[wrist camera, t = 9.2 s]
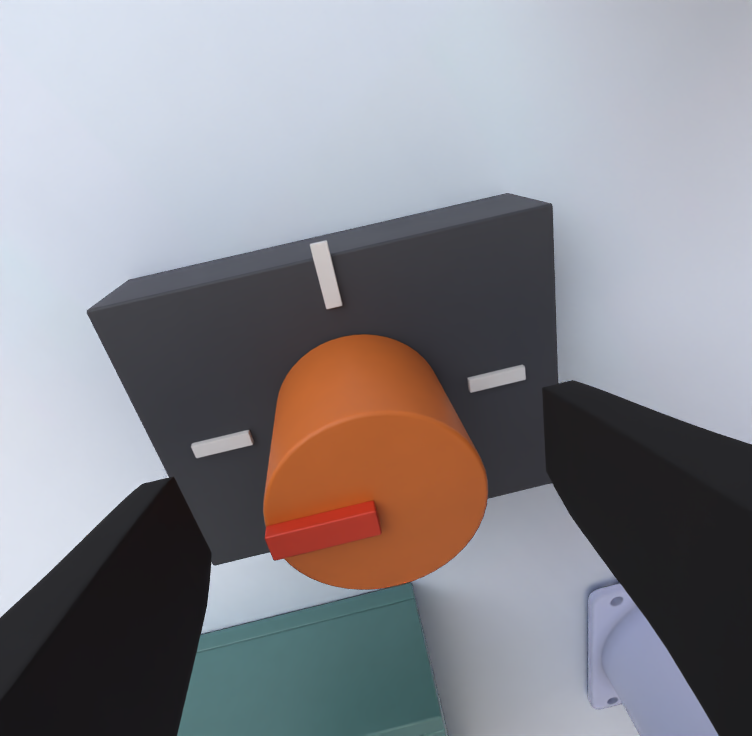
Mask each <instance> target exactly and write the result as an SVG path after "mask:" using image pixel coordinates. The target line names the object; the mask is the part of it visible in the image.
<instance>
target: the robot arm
mask: <svg viewBox="0 0 752 736" xmlns="http://www.w3.org/2000/svg"><path fill="white" fill-rule="evenodd" d="M542 396H543V417H544V438H545V459H546V472H547V474H548V476H549V478H550V479H551V481H552V483H553V485H554V487H555V489H556V491H557V492H558V494H559V496H560V498H561V500H562V501H563V503H564V505H565V507H566V508H567V510H568V512H569V514H570V515H571V517H572V518H573V520H574V521H575V522H576V524H577V525H578V527H579V528H580V529H581V531H582V532H583V534H584V535H585V536H586V538H587V539H588V540H589V542H590V543H591V545H592V546H593V547H594V549H595V550H596V551H597V553H598V554H599V555H600V557H601V558H602V560H603V561H604V562H605V564H606V565H607V566H608V568H609V569H610V570H611V572H612V573H613V574H614V576H615V577H616V579H617V580H618V581H619V584H615V585H611V586H607V587H603V588H599V589H597V590H595V591H593V592H592V593H591V594H590V595H589V599H588V700H589V702H590V704H591V706H592V707H593V708H594V709H604V708H608V707H612V706H615V705H619V704H623V706H624V707H625V709H626V711H627V713H628V715H629V716H630V718H631V720H632V722H633V724H634V725H635V727H636V729H637V731H638V733H639V734H640V736H752V445H751V444H748V443H745V442H742V441H739V440H736V439H733V438H730V437H727V436H724V435H721V434H717V433H715V432H712V431H709V430H706V429H703V428H700V427H697V426H695V425H692V424H689V423H686V422H684V421H681V420H678V419H675V418H673V417H670V416H667V415H665V414H662V413H659V412H657V411H654V410H652V409H649V408H646V407H644V406H641V405H639V404H636V403H634V402H631V401H628V400H626V399H623V398H621V397H618V396H616V395H613V394H610V393H608V392H605V391H602V390H600V389H597V388H594V387H592V386H589V385H586V384H583V383H580V382H577V381H573V380H572V381H568V382H564V383H560V384H555V385H551V386H547V387H543V388H542ZM211 559H212V552H211V550H210V548H209V546H208V544H207V542H206V540H205V538H204V536H203V534H202V532H201V530H200V528H199V526H198V524H197V522H196V520H195V518H194V516H193V514H192V512H191V510H190V508H189V506H188V504H187V502H186V500H185V498H184V496H183V494H182V492H181V490H180V488H179V486H178V484H177V482H176V480H175V478H174V476H173V477H169V478H165V479H161V480H157V481H153V482H149V483H144V484H142V485H140V486H139V487H138V488H137V489H136V490H134V491H133V492H132V493H131V494H130V495H129V496H127V497H126V498H125V499H124V500H123V501H122V502H121V503H120V504H119V505H118V506H117V507H116V508H115V509H114V510H113V511H112V512H110V513H109V514H108V515H107V516H106V517H105V518H104V519H103V520H102V521H101V522H100V523H99V524H98V525H97V526H96V527H95V528H94V529H93V530H92V531H91V532H90V533H89V534H88V535H87V536H86V537H85V538H84V539H83V540H82V541H81V542H80V543H79V544H78V545H77V546H76V547H75V548H74V549H73V550H72V551H71V552H70V553H69V554H68V555H67V556H66V557H64V558H63V559H62V560H61V561H60V562H59V563H58V564H57V565H56V566H55V567H54V568H53V569H52V570H51V571H50V572H49V573H48V574H47V575H46V576H45V577H44V578H43V579H42V580H41V581H40V582H39V583H37V584H36V585H35V586H34V587H33V588H32V589H31V590H30V591H29V592H28V593H27V594H25V595H24V596H23V597H22V598H21V599H20V600H19V601H18V602H17V603H16V604H15V605H14V606H12V607H11V608H10V609H9V610H8V611H7V612H6V613H5V614H4V615H3V616H2V617H1V618H0V736H177V734H178V730H179V725H180V721H181V717H182V712H183V708H184V704H185V700H186V695H187V691H188V687H189V683H190V678H191V674H192V670H193V665H194V661H195V657H196V653H197V648H198V644H199V639H200V635H201V631H202V626H203V622H204V617H205V612H206V608H207V601H208V592H209V583H210V571H211Z"/></svg>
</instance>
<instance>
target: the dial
mask: <svg viewBox="0 0 752 736" xmlns="http://www.w3.org/2000/svg"><path fill="white" fill-rule="evenodd" d="M487 498H488V480H487V475H486V470H485V467H484V465H483V462H482V459H481V457H480V456H479V454H478V452H477V450H476V448H475V446H474V444H473V443H472V441H471V439H470V437H469V435H468V433H467V432H466V430H465V428H464V426H463V424H462V422H461V421H460V419H459V417H458V415H457V413H456V411H455V410H454V408H453V406H452V404H451V402H450V400H449V398H448V397H447V395H446V393H445V391H444V389H443V387H442V386H441V384H440V382H439V380H438V378H437V376H436V375H435V373H434V371H433V369H432V368H431V366H430V365H429V364H428V363H427V361H426V360H425V359H424V358H423V357H422V356H421V355H420V354H419V353H418V352H416V351H415V350H413V349H412V348H410V347H409V346H407V345H405V344H403V343H401V342H399V341H397V340H394V339H391V338H388V337H383V336H378V335H367V334H362V335H350V336H344V337H340V338H337V339H333V340H330V341H328V342H326V343H323V344H321V345H319V346H317V347H316V348H314V349H312V350H311V351H309V352H308V353H307V354H306V355H304V356H303V357H302V358H301V359H300V360H299V361H298V362H297V363H296V364H295V365H294V366H293V367H292V369H291V370H290V371H289V373H288V374H287V376H286V378H285V379H284V381H283V383H282V386H281V388H280V391H279V394H278V399H277V404H276V412H275V419H274V427H273V434H272V441H271V449H270V456H269V464H268V471H267V478H266V486H265V493H264V503H263V514H264V521H265V526H266V531H265V541H266V543H267V545H268V548H269V550H270V553H271V555H272V557H273V560H275V561H276V560H280V559H285V560H286V561H287V562H288V563H289V564H290V565H291V566H292V567H294V568H295V569H296V570H298V571H299V572H301V573H303V574H304V575H306V576H308V577H310V578H312V579H314V580H317V581H319V582H321V583H325V584H328V585H331V586H336V587H341V588H347V589H359V590H362V589H381V588H388V587H393V586H398V585H402V584H405V583H408V582H412V581H414V580H417V579H419V578H422V577H424V576H426V575H428V574H430V573H432V572H434V571H436V570H437V569H439V568H440V567H442V566H443V565H445V564H446V563H448V562H449V561H450V560H451V559H453V558H454V557H455V556H456V555H457V554H458V553H459V552H460V551H461V550H462V549H463V548H464V547H465V546H466V545H467V544H468V542H469V541H470V540H471V539H472V537H473V536H474V534H475V533H476V531H477V529H478V528H479V525H480V523H481V521H482V519H483V516H484V513H485V509H486V506H487Z"/></svg>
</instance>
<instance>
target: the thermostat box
mask: <svg viewBox="0 0 752 736" xmlns="http://www.w3.org/2000/svg"><path fill="white" fill-rule="evenodd" d="M87 314H88V316H89V318H90V320H91V322H92V324H93V326H94V328H95V330H96V332H97V334H98V336H99V338H100V340H101V342H102V344H103V346H104V348H105V350H106V352H107V354H108V356H109V358H110V360H111V362H112V364H113V366H114V368H115V370H116V372H117V374H118V376H119V378H120V380H121V382H122V384H123V386H124V388H125V390H126V392H127V394H128V396H129V398H130V400H131V402H132V404H133V406H134V408H135V410H136V412H137V414H138V416H139V418H140V420H141V422H142V424H143V426H144V428H145V430H146V432H147V434H148V436H149V438H150V440H151V442H152V444H153V446H154V448H155V450H156V452H157V454H158V456H159V458H160V460H161V462H162V464H163V466H164V468H165V470H166V472H167V474H168V476H169V477H173V476H174V478H175V480H176V482H177V484H178V486H179V488H180V490H181V492H182V494H183V496H184V498H185V500H186V502H187V504H188V506H189V508H190V510H191V512H192V514H193V516H194V518H195V520H196V522H197V524H198V526H199V528H200V530H201V532H202V534H203V536H204V538H205V540H206V542H207V544H208V546H209V548H210V550H211V552H212V559H211V562H212V564H213V565H219V564H223V563H227V562H231V561H235V560H239V559H243V558H247V557H252V556H256V555H260V554H264V553H268V552H270V550H269V548H268V545H267V543H266V541H265V531H266V526H265V521H264V514H263V503H264V493H265V486H266V478H267V471H268V464H269V456H270V449H271V441H272V434H273V427H274V419H275V412H276V404H277V399H278V394H279V391H280V388H281V386H282V383H283V381H284V379H285V378H286V376H287V374H288V373H289V371H290V370H291V369H292V367H293V366H294V365H295V364H296V363H297V362H298V361H299V360H300V359H301V358H302V357H303V356H304V355H306V354H307V353H308V352H309V351H311V350H312V349H314V348H316V347H317V346H319V345H321V344H323V343H326V342H328V341H330V340H333V339H337V338H340V337H344V336H350V335H362V334H367V335H378V336H383V337H388V338H391V339H394V340H397V341H399V342H401V343H403V344H405V345H407V346H409V347H410V348H412V349H413V350H415V351H416V352H418V353H419V354H420V355H421V356H422V357H423V358H424V359H425V360H426V361H427V363H428V364H429V365H430V366H431V368H432V369H433V371H434V373H435V375H436V376H437V378H438V380H439V382H440V384H441V386H442V387H443V389H444V391H445V393H446V395H447V397H448V398H449V400H450V402H451V404H452V406H453V408H454V410H455V411H456V413H457V415H458V417H459V419H460V421H461V422H462V424H463V426H464V428H465V430H466V432H467V433H468V435H469V437H470V439H471V441H472V443H473V444H474V446H475V448H476V450H477V452H478V454H479V456H480V457H481V459H482V462H483V465H484V467H485V470H486V475H487V480H488V498H492V497H496V496H500V495H505V494H509V493H513V492H517V491H521V490H525V489H529V488H533V487H537V486H541V485H545V484H549V483H552V481H551V479H550V478H549V476H548V474H547V472H546V459H545V438H544V417H543V396H542V388H543V387H547V386H551V385H555V384H558V366H557V335H556V303H555V271H554V240H553V208H552V204H551V203H546V202H542V201H538V200H534V199H530V198H526V197H521V196H517V195H513V194H509V193H506V194H502V195H498V196H493V197H489V198H484V199H480V200H476V201H471V202H467V203H463V204H458V205H454V206H449V207H445V208H441V209H436V210H432V211H428V212H423V213H419V214H414V215H410V216H406V217H401V218H397V219H393V220H388V221H384V222H380V223H375V224H371V225H366V226H362V227H358V228H353V229H349V230H345V231H340V232H336V233H331V234H327V235H323V236H318V237H314V238H310V239H305V240H301V241H296V242H292V243H288V244H283V245H279V246H275V247H270V248H266V249H261V250H257V251H253V252H248V253H244V254H240V255H235V256H231V257H226V258H222V259H218V260H213V261H209V262H205V263H200V264H196V265H192V266H187V267H183V268H178V269H174V270H170V271H165V272H161V273H157V274H152V275H148V276H143V277H139V278H135V279H130V280H128V281H126V282H125V283H124V284H122V285H121V286H120V287H118V288H117V289H115V290H114V291H113V292H111V293H110V294H109V295H107V296H106V297H105V298H103V299H102V300H100V301H99V302H98V303H96V304H95V305H94V306H92V307H91V308H90V309H88V310H87ZM488 498H487V499H488Z"/></svg>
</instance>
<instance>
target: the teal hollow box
mask: <svg viewBox="0 0 752 736" xmlns="http://www.w3.org/2000/svg"><path fill="white" fill-rule="evenodd" d="M177 736H448V732H447V728H446V723H445V719H444V715H443V711H442V707H441V703H440V699H439V694H438V690H437V686H436V682H435V678H434V674H433V670H432V665H431V661H430V657H429V653H428V649H427V645H426V640H425V636H424V632H423V628H422V624H421V620H420V616H419V611H418V607H417V603H416V599H415V595H414V591H413V586H412V584H411V583H407V584H403V585H399V586H395V587H391V588H387V589H383V590H379V591H375V592H371V593H367V594H363V595H359V596H355V597H351V598H347V599H343V600H339V601H335V602H331V603H327V604H323V605H319V606H315V607H311V608H307V609H303V610H299V611H295V612H291V613H287V614H283V615H279V616H275V617H271V618H267V619H263V620H259V621H255V622H251V623H247V624H243V625H238V626H234V627H230V628H226V629H222V630H218V631H214V632H210V633H206V634H202V635H200V639H199V644H198V648H197V653H196V657H195V661H194V665H193V670H192V674H191V678H190V683H189V687H188V691H187V695H186V700H185V704H184V708H183V712H182V717H181V721H180V725H179V730H178V734H177Z"/></svg>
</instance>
